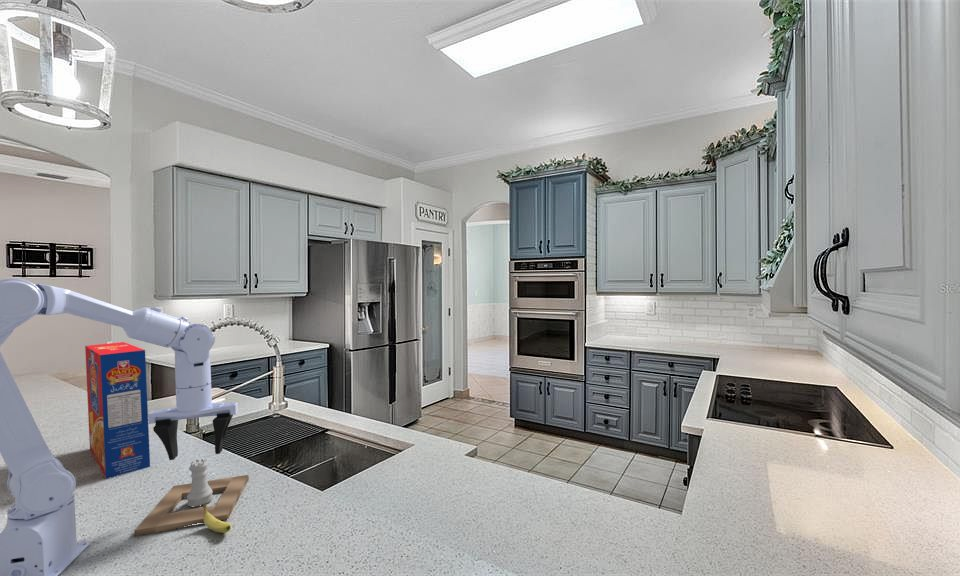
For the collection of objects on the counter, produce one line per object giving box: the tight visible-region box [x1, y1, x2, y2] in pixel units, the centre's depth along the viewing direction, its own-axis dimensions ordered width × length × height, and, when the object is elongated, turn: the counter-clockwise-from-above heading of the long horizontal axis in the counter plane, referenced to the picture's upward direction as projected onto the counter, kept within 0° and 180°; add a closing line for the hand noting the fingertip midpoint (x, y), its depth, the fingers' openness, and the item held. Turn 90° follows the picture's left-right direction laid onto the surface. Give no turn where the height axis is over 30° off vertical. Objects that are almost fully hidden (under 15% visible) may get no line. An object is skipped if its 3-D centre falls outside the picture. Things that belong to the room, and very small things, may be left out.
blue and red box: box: [84, 341, 151, 480], centre depth 108 cm, size 28×8×28 cm, turn 48°
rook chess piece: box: [186, 458, 214, 508], centre depth 83 cm, size 4×4×8 cm
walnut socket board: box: [134, 474, 250, 537], centre depth 83 cm, size 17×14×1 cm
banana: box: [200, 503, 232, 534], centre depth 73 cm, size 8×2×4 cm, turn 61°
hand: (196, 455), depth 83 cm, fingers open, 7 cm apart
